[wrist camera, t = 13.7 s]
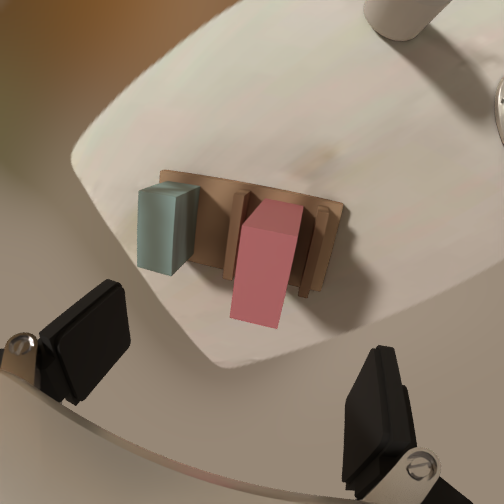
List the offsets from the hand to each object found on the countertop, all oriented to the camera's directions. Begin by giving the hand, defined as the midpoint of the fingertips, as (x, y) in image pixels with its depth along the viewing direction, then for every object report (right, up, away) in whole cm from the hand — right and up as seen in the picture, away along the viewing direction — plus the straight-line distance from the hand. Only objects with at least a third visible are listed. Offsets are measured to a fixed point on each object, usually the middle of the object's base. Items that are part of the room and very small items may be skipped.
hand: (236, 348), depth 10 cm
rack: (0, +6, +23) cm, 24 cm away
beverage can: (+15, +28, +11) cm, 34 cm away
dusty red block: (+3, +5, +21) cm, 22 cm away
